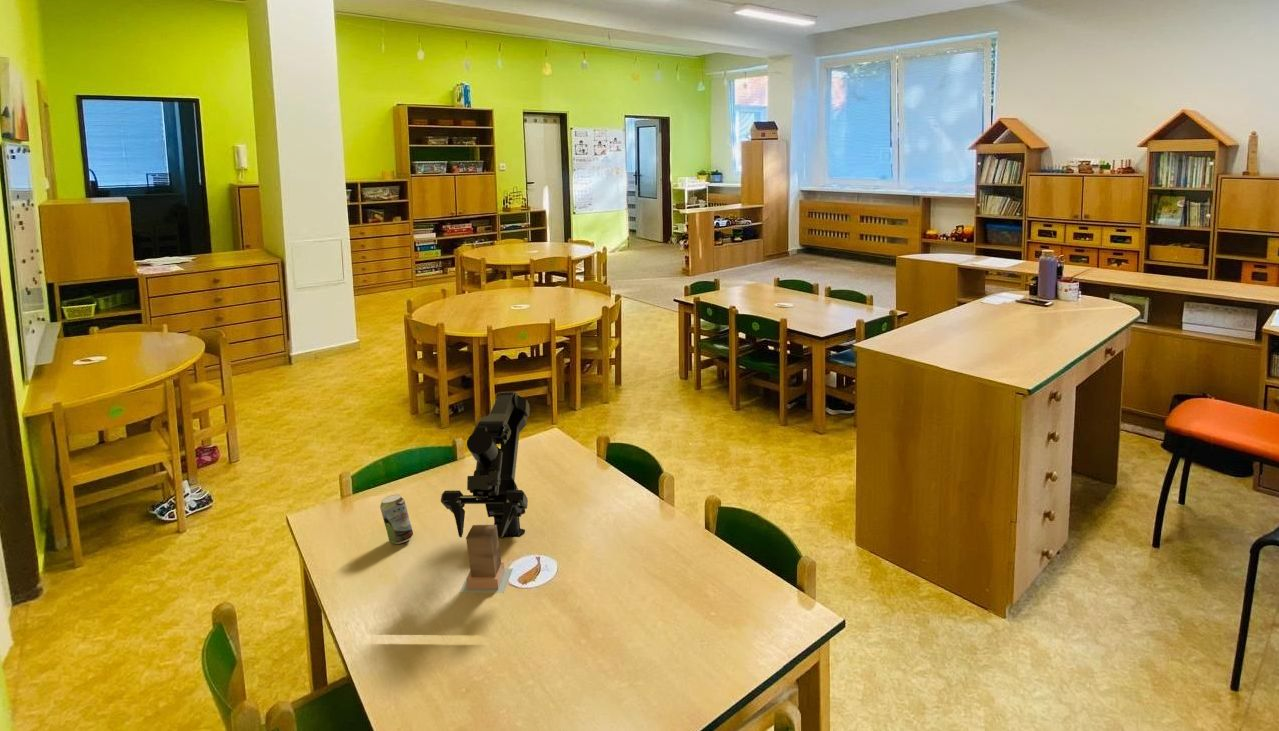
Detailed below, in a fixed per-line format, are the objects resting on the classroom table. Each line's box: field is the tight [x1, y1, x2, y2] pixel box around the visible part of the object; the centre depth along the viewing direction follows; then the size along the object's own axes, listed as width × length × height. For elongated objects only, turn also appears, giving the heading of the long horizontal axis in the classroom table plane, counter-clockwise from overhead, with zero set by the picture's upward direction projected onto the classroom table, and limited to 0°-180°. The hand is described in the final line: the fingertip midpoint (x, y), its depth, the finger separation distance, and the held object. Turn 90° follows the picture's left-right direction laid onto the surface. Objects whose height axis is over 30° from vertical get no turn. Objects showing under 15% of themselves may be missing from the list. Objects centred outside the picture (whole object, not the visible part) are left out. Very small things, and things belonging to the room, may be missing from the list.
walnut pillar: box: [465, 524, 502, 577], centre depth 173 cm, size 6×6×10 cm
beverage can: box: [379, 494, 414, 545], centre depth 195 cm, size 6×7×12 cm
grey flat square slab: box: [459, 568, 514, 594], centre depth 175 cm, size 10×10×2 cm
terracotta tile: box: [465, 561, 506, 590], centre depth 174 cm, size 7×7×2 cm
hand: (480, 536), depth 170 cm, fingers open, 9 cm apart
